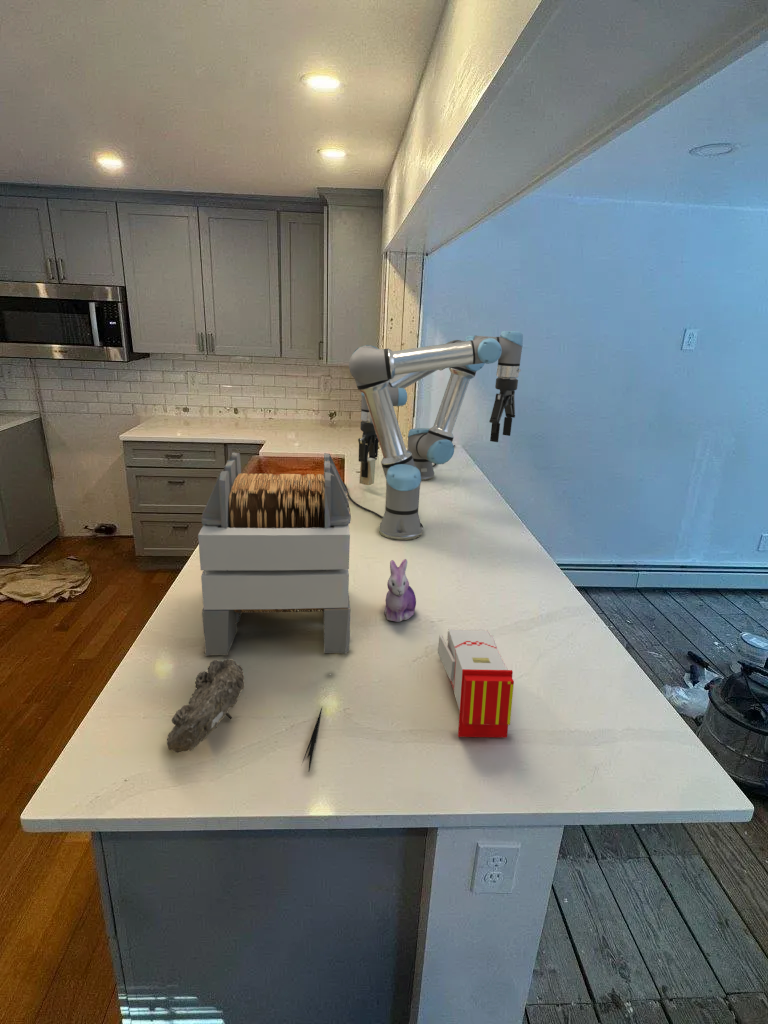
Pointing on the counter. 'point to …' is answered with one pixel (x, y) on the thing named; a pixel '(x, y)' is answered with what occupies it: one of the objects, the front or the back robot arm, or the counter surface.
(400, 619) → the figurine
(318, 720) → the feather
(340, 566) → the cotton gin model
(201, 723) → the fossil
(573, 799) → the counter surface
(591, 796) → the counter surface
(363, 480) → the box
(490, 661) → the toy
